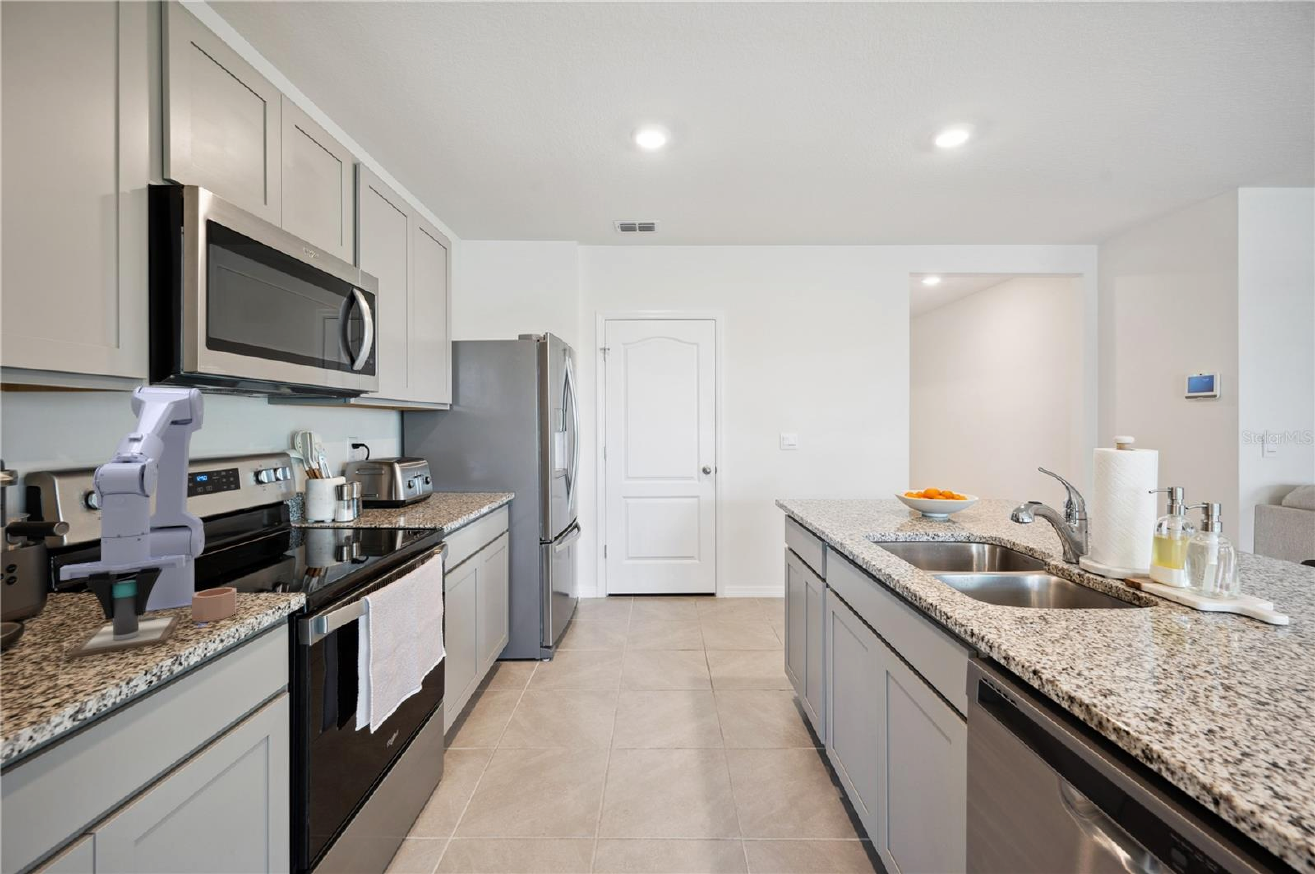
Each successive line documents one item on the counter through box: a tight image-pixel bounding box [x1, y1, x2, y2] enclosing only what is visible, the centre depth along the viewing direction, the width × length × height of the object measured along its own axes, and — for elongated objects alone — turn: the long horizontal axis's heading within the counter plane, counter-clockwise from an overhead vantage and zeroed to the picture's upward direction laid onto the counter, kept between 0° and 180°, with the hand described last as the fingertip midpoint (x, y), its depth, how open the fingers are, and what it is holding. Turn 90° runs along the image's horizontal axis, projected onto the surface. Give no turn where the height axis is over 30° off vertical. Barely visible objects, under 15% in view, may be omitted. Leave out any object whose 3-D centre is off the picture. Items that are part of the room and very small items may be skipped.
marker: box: [112, 579, 140, 640], centre depth 87 cm, size 3×3×9 cm
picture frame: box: [68, 614, 183, 659], centre depth 90 cm, size 14×11×1 cm
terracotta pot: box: [191, 586, 238, 623], centre depth 100 cm, size 6×6×4 cm
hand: (126, 616), depth 87 cm, fingers closed on marker, 3 cm apart
